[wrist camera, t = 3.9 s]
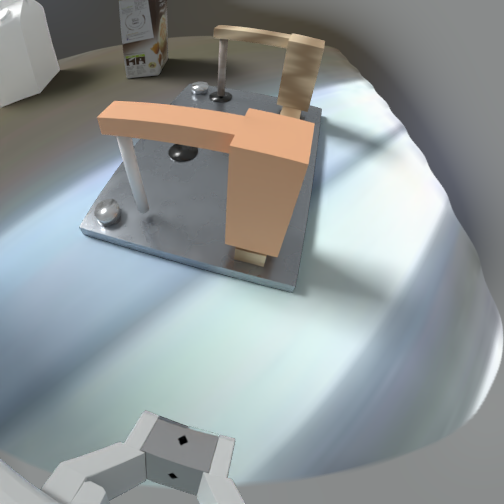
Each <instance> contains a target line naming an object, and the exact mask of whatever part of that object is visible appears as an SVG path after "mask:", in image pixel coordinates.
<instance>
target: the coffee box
mask: <svg viewBox="0 0 504 504" xmlns="http://www.w3.org/2000/svg"><path fill="white" fill-rule="evenodd" d="M119 10H120V24H121V34H122V44H123V53H124V61H125V69H126V76H127V78H135V77H144V76H155V75H159V74H160V72H161V70H162V68H163V67H164V65H165V63H166V61H167V60H168V38H167V0H119Z"/></svg>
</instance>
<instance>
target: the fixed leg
mask: <svg viewBox="0 0 504 504" xmlns="http://www.w3.org/2000/svg"><path fill="white" fill-rule="evenodd" d="M214 38H218V39H220V45H219V65H218V89H217V95H218V96H224V95H225V77H226V61H227V46H228V40H237V41H245V42H252V43H259V44H265V45H271V46H277V47H282V48H287V51H286V56H285V62H284V67H283V73H282V78H281V84H280V89H279V95H278V100H277V105H281V106H283V107H282V110H281V113H280V115H284V116H288V117H292V118H296V119H300V115H301V110H302V111H306V112H308V109H309V105H310V101H311V97H312V93H313V90H314V86H315V82H316V78H317V74H318V70H319V66H320V62H321V58H322V54H323V50H324V43H325V41H323V40H319V39H315V38H311V37H307V36H302V35H298V34H292V35H289V34H284V33H278V32H273V31H266V30H259V29H253V28H245V27H236V26H224V25H219V26H217V27H216V28H214ZM266 256H267V255H266V254H262V253H258V252H254V251H250V250H246V249H243V248H239V247H236V248H235V257H234V259H235V260H239V261H243V262H247V263H251V264H255V265H259V266H262V267H264V263H265V260H266Z"/></svg>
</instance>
